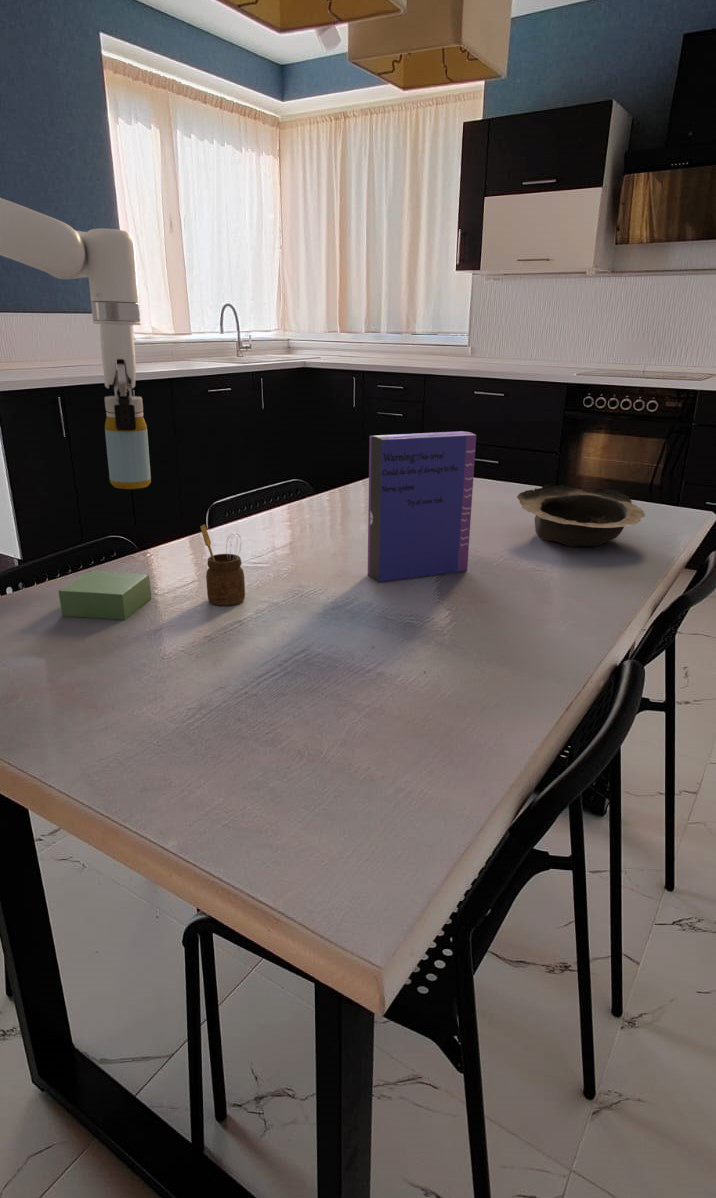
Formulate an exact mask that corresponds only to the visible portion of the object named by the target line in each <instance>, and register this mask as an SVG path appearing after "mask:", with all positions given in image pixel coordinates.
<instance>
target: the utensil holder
mask: <svg viewBox="0 0 716 1198" xmlns="http://www.w3.org/2000/svg"><path fill="white" fill-rule="evenodd" d="M199 528H200V531H201V533H202V534H201V535H202V538H203V542H204V545H205V546H206V547H207V548H208V552H209V555H210V556H209V557H208V558H207V562H206V563H207V564H206V565H207V567H208V568H207V570H206V575H205V578H206V579H205V582H206V594H207V599H208V602H209V603H210V604H212V605H214V606H221V607H227V606H235V605H239V604H241V603H243V602H244V600H245V598H246V584H245V582H246V581H245V573H244V569H243V568H242V559H241V556H240V554H241V549H242V543H240V545H239V550H238V549H237V547H234V548H235V552H234V553H232V550H229V553H228V551H227V550H228V549H227V548H228V542H230V544H229V545H230V547H232V544H233V543H232V541H233V540H234V537H235V536H236V537H238V536H239V534H238V533H234V532H233V533H230V534H229V535H228V537H227V539H226V545H225V551H226V553H217V554H213V550H212V547H211V544H212V542H211V539H210V535H209V533H208V529H207V527H206V524H202V525H200V527H199ZM229 538H230V539H231V541H229ZM239 539H240V540H242V538H241V536H239ZM238 542H239V540H238V538H236V542H235V543H236V545H238V544H239V543H238ZM237 551H238V553H237ZM236 553H237V554H236Z"/></svg>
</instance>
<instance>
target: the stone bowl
mask: <svg viewBox="0 0 716 1198" xmlns="http://www.w3.org/2000/svg"><path fill="white" fill-rule="evenodd" d="M516 498H517V500H518V501H519V504H520V505H521V509H523V510H525V511H526V512H527V513H530V514H533V515H535V516H534V528H535V534H536V535H537V537H539V538H541V539H543V540H544V541H549V542H550V541H551V542H552V541H555V542H557V543H560V544H563V545H565V546H568V547H571V548H575V547H579V546H580V547H599V546H602V545H603V544H604V543H608V542H610V541H612V540H615V539H617V538H618V537H619V536H620V535H621V533H622V532H623V531H624V528H625V527H628V526H632V525H633V526H634V525H637V524H639V523H640V522H641V519H642V518H645V517H646V515H645V511H644V510H643V509H642V508H641V507H639V506H638V505H636V504H633V503H632V502H633V501H632V499H630V497H629V495H626V494H624V493H622V492H621V491H619V490H617V489H609V488H604V489H603V490H601V489H599V490H590V491H588V490H585V489H579V488H576V487H571V486H569V485H565V486H564V484H563V483H562V484H560V485H550V484H544V485H543V486H542V487H539V488H534V489H528V490H524V491H521V492H519V494H517V496H516Z"/></svg>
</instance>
